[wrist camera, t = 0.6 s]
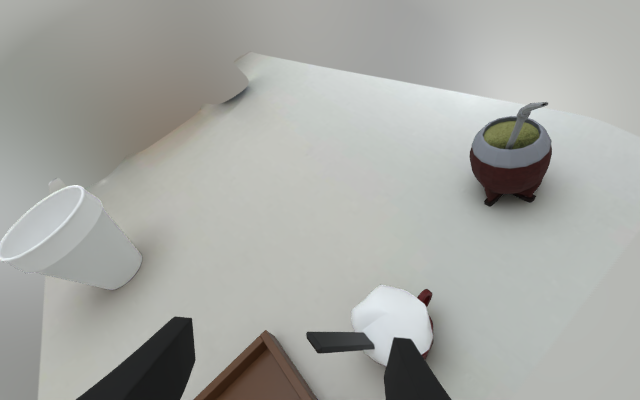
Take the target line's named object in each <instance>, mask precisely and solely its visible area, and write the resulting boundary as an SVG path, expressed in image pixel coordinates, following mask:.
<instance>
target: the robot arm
mask: <svg viewBox="0 0 640 400" xmlns="http://www.w3.org/2000/svg"><path fill="white" fill-rule="evenodd" d="M194 363H195V349H194V337H193V326H192V318H184V317H174V318H172V319H171V320H170V321H169V322H168V323H167V324H165V325H164V326H163V327H162V328H161V329H160V330H159V331H158V332H157V333H155V334H154V335H153V336H152V337H151V338H150V339H149V340H148V341H147V342H145V343H144V344H143V345H142V346H141V347H140V348H139V349H138V350H136V351H135V352H134V353H133V354H132V355H131V356H129V357H128V358H127V359H126V360H125V361H124V362H122V363H121V364H120V365H119V366H118V367H116V368H115V369H114V370H113V371H112V372H110V373H109V374H108V375H107V376H105V377H104V378H103V379H102V380H100V381H99V382H98V383H97V384H95V385H94V386H93V387H92V388H90V389H89V390H88V391H87V392H85V393H84V394H83V395H81V396H80V397H79V398H77V399H76V400H180V399H181V397H182V394H183V392H184V390H185V387H186V385H187V382H188V380H189V377H190V374H191V371H192V368H193V366H194ZM384 384H385V395H386V400H451V398H450V397H449V396H448V394H447V393H446V391H445V390H444V388H443V387H442V386H441V384H440V383H439V381H438V380H437V378H436V377H435V375H434V374H433V372H432V371H431V369H430V368H429V366H428V364H427V363H426V361H425V360H424V358H423V357H422V355H421V353H420V352H419V350H418V349H417V347H416V345H415V344H414V342H413V341H412V340H411V339H409V338H398V337H394V338H393V342H392V346H391V350H390V354H389V359H388V363H387V367H386V371H385V375H384Z"/></svg>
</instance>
